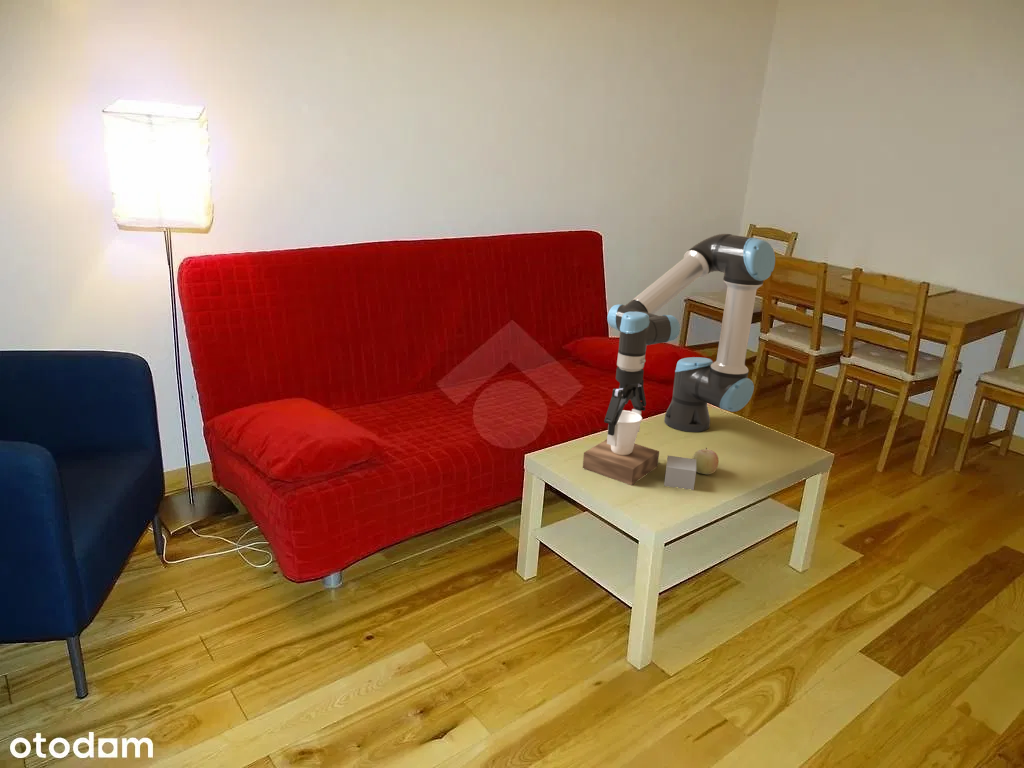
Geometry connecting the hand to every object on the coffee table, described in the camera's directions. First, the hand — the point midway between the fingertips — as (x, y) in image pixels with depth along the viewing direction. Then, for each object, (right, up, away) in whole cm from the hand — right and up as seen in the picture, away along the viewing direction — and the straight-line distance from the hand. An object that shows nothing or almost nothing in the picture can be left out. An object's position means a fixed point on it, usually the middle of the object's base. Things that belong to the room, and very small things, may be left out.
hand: (623, 437), depth 206 cm
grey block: (+15, -12, -4) cm, 20 cm away
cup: (0, -4, +2) cm, 5 cm away
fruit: (+24, -10, +3) cm, 26 cm away
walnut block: (0, -9, +3) cm, 10 cm away
